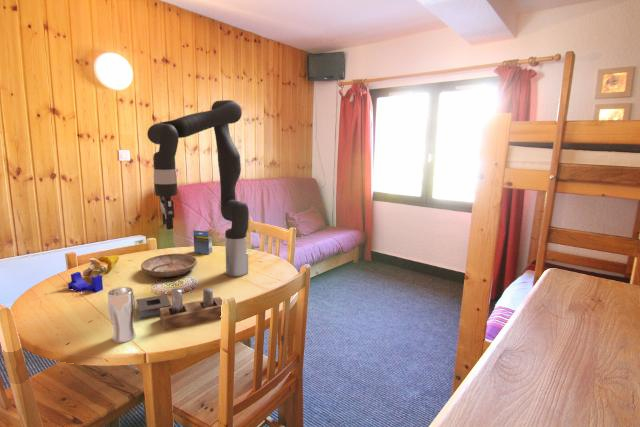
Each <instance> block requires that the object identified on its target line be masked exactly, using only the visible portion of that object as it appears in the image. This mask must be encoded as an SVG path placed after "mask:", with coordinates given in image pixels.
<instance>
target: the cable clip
mask: <svg viewBox="0 0 640 427" xmlns="http://www.w3.org/2000/svg"><path fill="white" fill-rule="evenodd" d="M82 276H83V275H82V273H81V272H80V271H77V272H74V273H71V274H70V279H71V281H70V282H67V286H68V290H69V289H70V290H69V291H73V290H76V291H75V292H79V291H80V292H79V293H81V291H82V292H84V291H85V292H86V291H87V292H90V293H92V292H93V293H99V292H101V291H103V290H104V287H103V286H104V285H103V276H101V275H98V276H95V277H93V278H92V279H91V283H88V282H86V280H84V278H83V277H82ZM71 289H73V290H71Z"/></svg>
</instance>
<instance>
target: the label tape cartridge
mask: <svg viewBox="0 0 640 427" xmlns="http://www.w3.org/2000/svg"><path fill="white" fill-rule="evenodd" d="M192 233H193V248H194V249H193V252H194V254H205V255H210V254H212V253H213V237H211V236H210V235H209V232H208V231H205V230H204V231H203V230H193V232H192Z"/></svg>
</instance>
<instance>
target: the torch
mask: <svg viewBox="0 0 640 427" xmlns="http://www.w3.org/2000/svg"><path fill="white" fill-rule="evenodd" d="M119 259H120V255H118V254H112V255H104V256H101V257H99V258H95V257H90V258H88V260H89V262H90V264H89V265H88V266H87V267H88V268H86V269H85V270H82V276H83V277H89V280H92V278H93V277H95V276H98V275H101V276H102V277H103V276H104V275H106V274H109V273H110V271H111V270H113V268H114V266H116V264H117V263H118V261H119Z"/></svg>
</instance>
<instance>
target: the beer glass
mask: <svg viewBox="0 0 640 427" xmlns="http://www.w3.org/2000/svg"><path fill="white" fill-rule="evenodd" d="M135 302H136V300H135V295H134V289H133V287H131V286H130V287H129V286H121V287H120V286H119V287H116V288H112V289H110V290H109V291H108V292H107V309H108V310H107V312H108V315H109V319H110V321H111V325H112V328H113V332H112V333H113V334H112V341H113V342H114V343H117V344H122V343H127V342H130V341H132V340H133V339H135V337H136V332H135V328H134V317H135V306H136V303H135Z"/></svg>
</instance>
